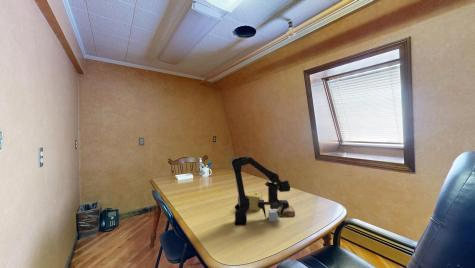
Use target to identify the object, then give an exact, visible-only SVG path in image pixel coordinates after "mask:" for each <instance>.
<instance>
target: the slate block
mask: <svg viewBox="0 0 475 268" xmlns="http://www.w3.org/2000/svg"><path fill="white" fill-rule="evenodd" d="M267 213H268V221H269V222H278V220H279V219H278V215H279V213H278V209H268V212H267Z"/></svg>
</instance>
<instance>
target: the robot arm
mask: <svg viewBox="0 0 475 268" xmlns="http://www.w3.org/2000/svg"><path fill="white" fill-rule="evenodd" d="M229 162H230V166H231V168H232V171H233V173H234V178H235V183H236V185H235V186H236V188H237V189H236V190H237V195H238V196H237V203H236V204H235V206H234V210H235V211H234V225H235V226H246V225H247V222H248V221H247V220H248V218H247V216H248V215H247V214H248V213H247V212H248V211H249V210H248V209H249V205H250V203H249V198H248V196H247V195H246V192H245V187H244V181H243V176H242V167H243V166H247V165H250V166H252V167H253V168H255V169H257V171H259V172H260V173H262V174H263V176H264V177H266V178H267V180H269V181H270V182H269V181H266V182H265V183H264V185H265V187H267V190H268V191H267V197H268V198H267V199H268V200H267V201H265V199H263V200H258V207H259V208H260V210H262V212H263V214H264V218H267V217H266V216H267V213H266V207H265V206H269V208H270V209H269V210H279V207H280V213H279V218H282V217H283V216H282V213H283V211H284V210H285V209H287V208H289V206H290V203H289V201H288V200H286V199H278V197H279V196H278V194H279V193H284V192H285V193H287V192H290V191H291V185H290V183H289V180H286V179H285V180H280V177H279V174H278V173H276V172H274V171H273V170H270V169H268V168H266V167H265V166H263V165H262V164H261V163H259V162H258V161H256V160H255V159H254V158H253V157H252V156H250V155H248V156H241V157H238V156H233V157H232V158H231V159H230V161H229Z"/></svg>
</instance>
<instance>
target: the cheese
mask: <svg viewBox="0 0 475 268" xmlns="http://www.w3.org/2000/svg"><path fill="white" fill-rule="evenodd" d="M246 195H247V196H248V198H249V203H250V205H249V209H248V211H259V212H260V211H261V209H260V208H259V207H258V200H264V199H263V192H261V191H252V192H248V193H245V196H246Z"/></svg>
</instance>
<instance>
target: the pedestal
mask: <svg viewBox="0 0 475 268" xmlns="http://www.w3.org/2000/svg"><path fill="white" fill-rule="evenodd" d="M278 212H279V213H278V214H280V207H279V208H278ZM295 216H296V211H295V208H294V207H293V206H292V205H289V208H287V209H285V210H284V211H283V213H282V216H281V217H295Z"/></svg>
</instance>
